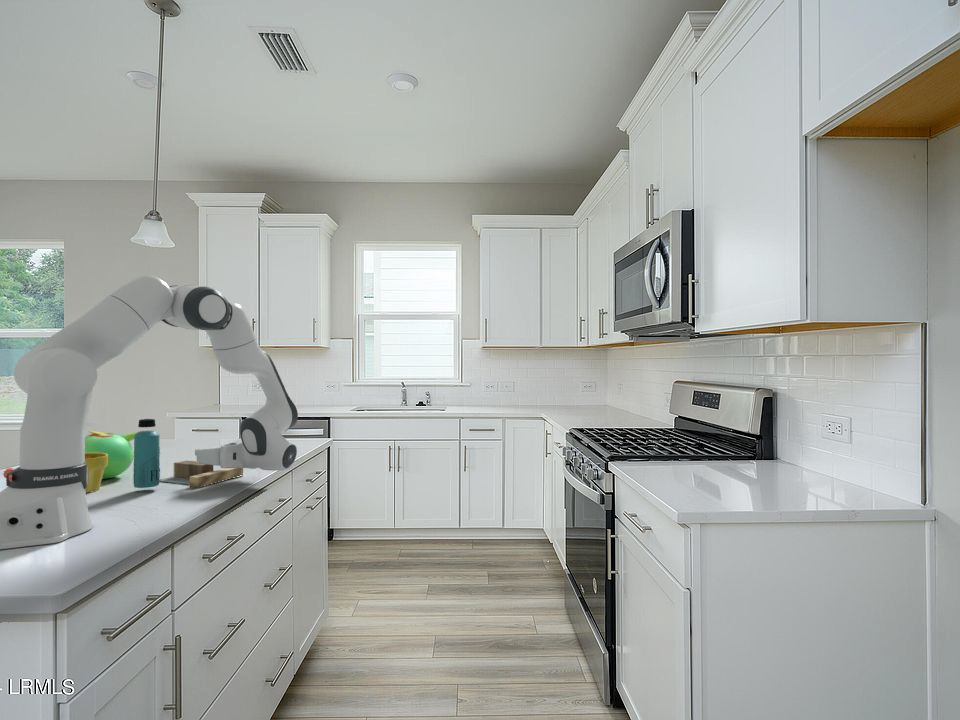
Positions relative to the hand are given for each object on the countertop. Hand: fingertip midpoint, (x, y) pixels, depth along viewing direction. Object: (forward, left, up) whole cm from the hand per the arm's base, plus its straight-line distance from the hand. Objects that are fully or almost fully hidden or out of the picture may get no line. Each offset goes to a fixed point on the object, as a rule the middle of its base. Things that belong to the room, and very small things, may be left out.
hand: (209, 449), depth 172 cm
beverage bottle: (-17, -4, -9) cm, 20 cm away
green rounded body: (-24, +22, -9) cm, 34 cm away
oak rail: (+2, -3, -9) cm, 10 cm away
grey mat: (-3, +5, -9) cm, 11 cm away
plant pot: (-30, +6, -9) cm, 32 cm away
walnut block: (0, 0, -7) cm, 7 cm away
